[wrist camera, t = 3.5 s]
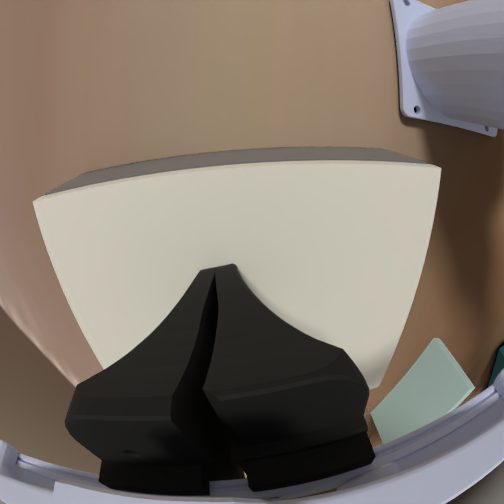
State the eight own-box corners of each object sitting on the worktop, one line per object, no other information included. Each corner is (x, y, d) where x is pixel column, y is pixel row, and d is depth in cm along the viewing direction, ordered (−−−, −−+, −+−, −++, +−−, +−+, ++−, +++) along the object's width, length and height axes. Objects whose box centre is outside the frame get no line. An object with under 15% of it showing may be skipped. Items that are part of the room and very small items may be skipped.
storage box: (382, 148, 14) (427, 162, 10) (355, 341, 20) (375, 379, 16) (84, 172, 12) (45, 193, 9) (144, 363, 19) (135, 406, 15)
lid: (432, 164, 10) (441, 168, 9) (375, 380, 16) (378, 386, 16) (40, 196, 9) (32, 201, 8) (135, 407, 15) (134, 414, 15)
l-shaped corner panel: (428, 400, 30) (450, 439, 23) (368, 409, 27) (389, 460, 20) (481, 336, 25) (512, 375, 18) (430, 334, 22) (470, 389, 16)
